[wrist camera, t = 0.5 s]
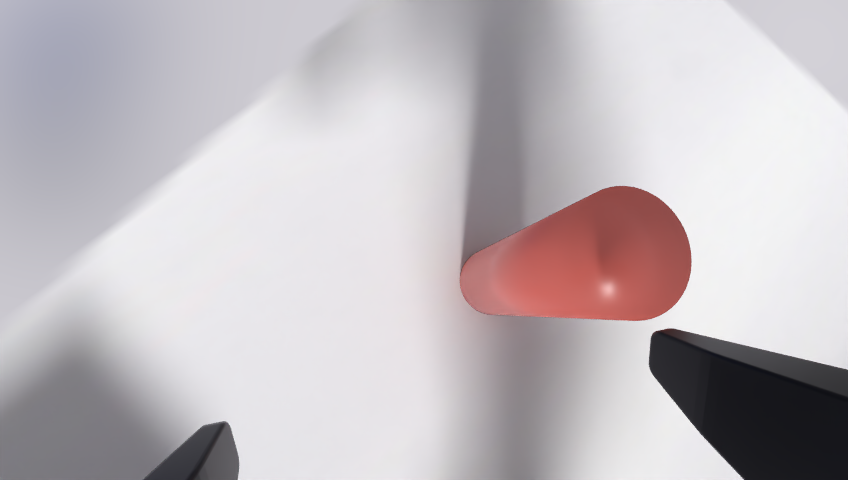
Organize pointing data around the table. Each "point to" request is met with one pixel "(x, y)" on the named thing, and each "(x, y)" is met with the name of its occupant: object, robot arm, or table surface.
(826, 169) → the table surface
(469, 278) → the plug
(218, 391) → the table surface
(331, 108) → the table surface
